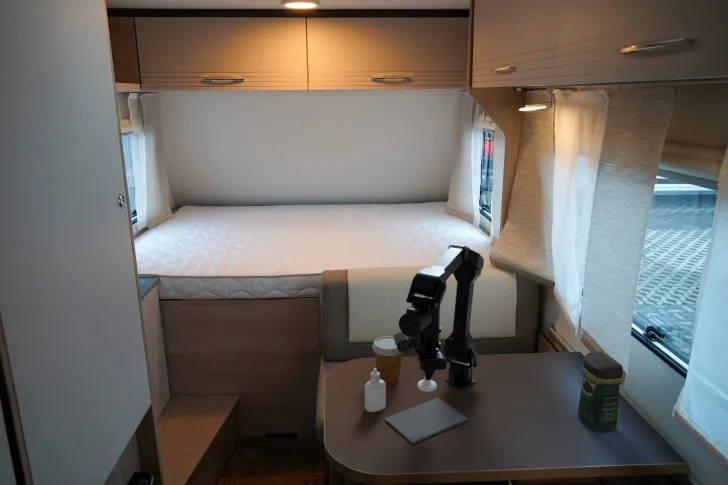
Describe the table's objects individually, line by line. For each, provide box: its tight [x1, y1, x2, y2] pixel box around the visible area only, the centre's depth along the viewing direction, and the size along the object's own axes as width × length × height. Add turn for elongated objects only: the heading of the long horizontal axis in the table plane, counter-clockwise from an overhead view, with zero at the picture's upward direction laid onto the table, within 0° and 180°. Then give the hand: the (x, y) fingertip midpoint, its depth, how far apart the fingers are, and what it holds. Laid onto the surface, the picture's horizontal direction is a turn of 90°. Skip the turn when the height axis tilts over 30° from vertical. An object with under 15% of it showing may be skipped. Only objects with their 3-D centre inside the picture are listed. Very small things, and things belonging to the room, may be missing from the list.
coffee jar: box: [576, 351, 624, 433], centre depth 138 cm, size 10×8×19 cm
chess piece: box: [417, 375, 438, 393], centre depth 138 cm, size 5×5×10 cm
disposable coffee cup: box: [371, 335, 404, 385], centre depth 161 cm, size 10×10×12 cm
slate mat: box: [384, 397, 468, 445], centre depth 142 cm, size 18×12×1 cm, turn 122°
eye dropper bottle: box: [364, 367, 387, 413], centre depth 146 cm, size 4×6×12 cm
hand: (427, 377), depth 139 cm, fingers closed on chess piece
